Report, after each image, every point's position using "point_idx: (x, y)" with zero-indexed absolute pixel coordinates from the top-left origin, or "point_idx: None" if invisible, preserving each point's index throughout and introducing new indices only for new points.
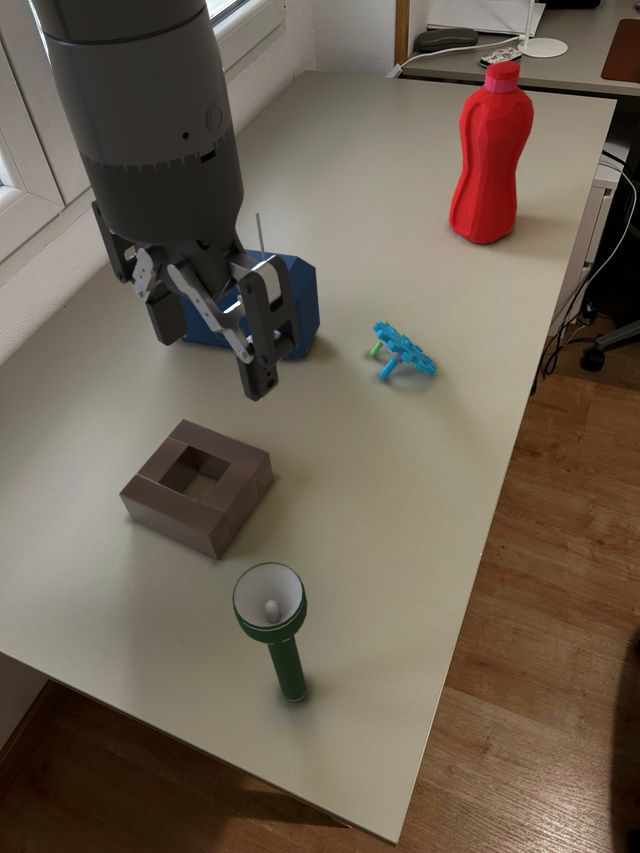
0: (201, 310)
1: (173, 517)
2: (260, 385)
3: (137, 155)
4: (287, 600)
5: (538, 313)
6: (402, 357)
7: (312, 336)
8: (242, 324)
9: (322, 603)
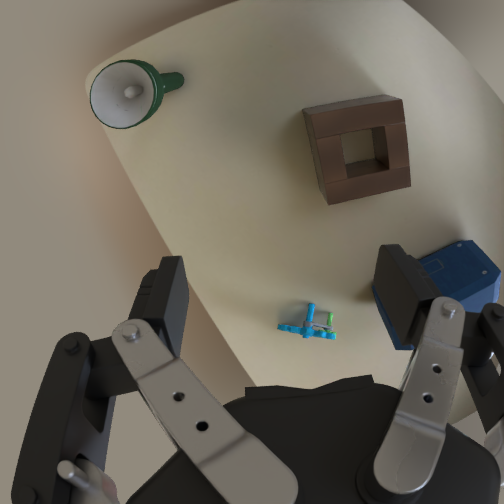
0: (199, 401)
1: (348, 109)
2: (141, 288)
3: None
4: (129, 107)
5: (259, 383)
6: (297, 328)
7: (376, 301)
8: None
9: (210, 138)
